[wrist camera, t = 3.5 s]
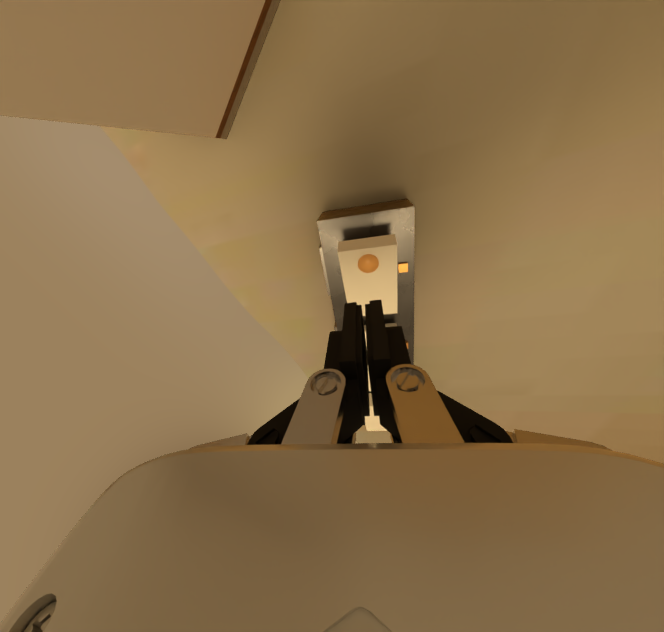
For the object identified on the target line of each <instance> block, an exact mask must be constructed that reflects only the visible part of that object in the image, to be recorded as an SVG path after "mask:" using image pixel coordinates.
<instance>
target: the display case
mask: <svg viewBox="0 0 664 632" xmlns="http://www.w3.org/2000/svg"><path fill="white" fill-rule="evenodd" d="M279 2H280V0H0V116H9V117H19V118H29V119H38V120H48V121H58V122H67V123H77V124H87V125H97V126H106V127H116V128H126V129H136V130H145V131H155V132H165V133H175V134H184V135H194V136H204V137H214V138H223V139H227V137H228V134H229V131H230V129H231V126H232V124H233V121H234V118H235V116H236V113H237V111H238V108H239V106H240V103H241V100H242V98H243V95H244V93H245V90H246V88H247V85H248V82H249V80H250V77H251V75H252V72H253V69H254V67H255V64H256V62H257V59H258V57H259V54H260V51H261V49H262V46H263V44H264V41H265V38H266V36H267V33H268V31H269V28H270V26H271V23H272V20H273V18H274V15H275V13H276V10H277V8H278V5H279Z"/></svg>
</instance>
